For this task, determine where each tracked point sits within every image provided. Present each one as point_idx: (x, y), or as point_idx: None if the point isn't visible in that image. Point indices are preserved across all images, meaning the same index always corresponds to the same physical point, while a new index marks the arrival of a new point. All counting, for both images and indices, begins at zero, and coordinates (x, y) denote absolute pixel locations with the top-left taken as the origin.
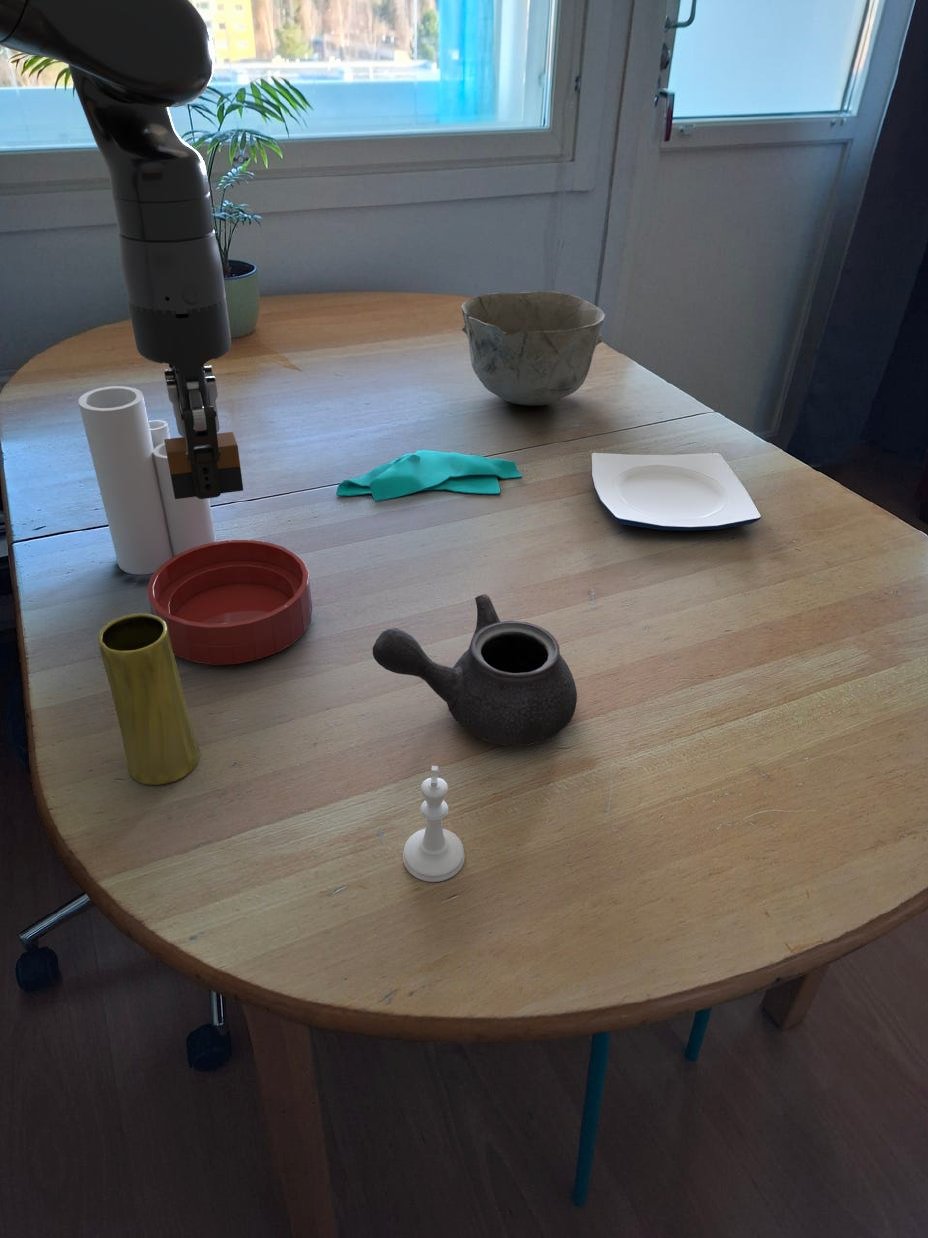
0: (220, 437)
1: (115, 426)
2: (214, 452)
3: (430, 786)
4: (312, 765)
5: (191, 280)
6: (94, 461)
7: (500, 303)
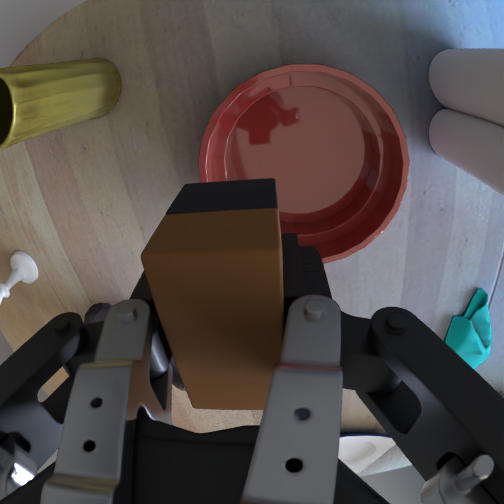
0: (247, 390)
1: None
2: (61, 386)
3: None
4: (81, 208)
5: None
6: None
7: None
